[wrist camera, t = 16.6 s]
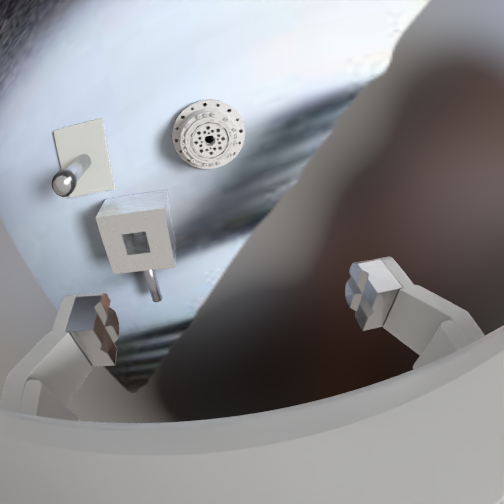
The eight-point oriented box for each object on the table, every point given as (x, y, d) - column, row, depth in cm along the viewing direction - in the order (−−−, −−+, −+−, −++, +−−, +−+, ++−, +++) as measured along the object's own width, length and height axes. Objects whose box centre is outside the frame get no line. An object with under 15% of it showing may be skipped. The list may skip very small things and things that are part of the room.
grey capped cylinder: (72, 153, 35) (47, 177, 27) (91, 149, 35) (69, 171, 28) (77, 173, 36) (54, 200, 29) (95, 169, 37) (75, 196, 30)
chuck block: (105, 198, 40) (95, 217, 36) (167, 189, 42) (164, 208, 37) (133, 289, 52) (129, 313, 47) (184, 284, 53) (184, 308, 49)
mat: (55, 130, 32) (53, 131, 32) (102, 117, 33) (101, 118, 33) (70, 196, 39) (69, 197, 38) (115, 187, 40) (114, 189, 39)
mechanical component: (178, 171, 41) (246, 160, 42) (177, 182, 37) (251, 171, 38) (167, 105, 35) (240, 95, 36) (164, 110, 31) (245, 98, 32)
